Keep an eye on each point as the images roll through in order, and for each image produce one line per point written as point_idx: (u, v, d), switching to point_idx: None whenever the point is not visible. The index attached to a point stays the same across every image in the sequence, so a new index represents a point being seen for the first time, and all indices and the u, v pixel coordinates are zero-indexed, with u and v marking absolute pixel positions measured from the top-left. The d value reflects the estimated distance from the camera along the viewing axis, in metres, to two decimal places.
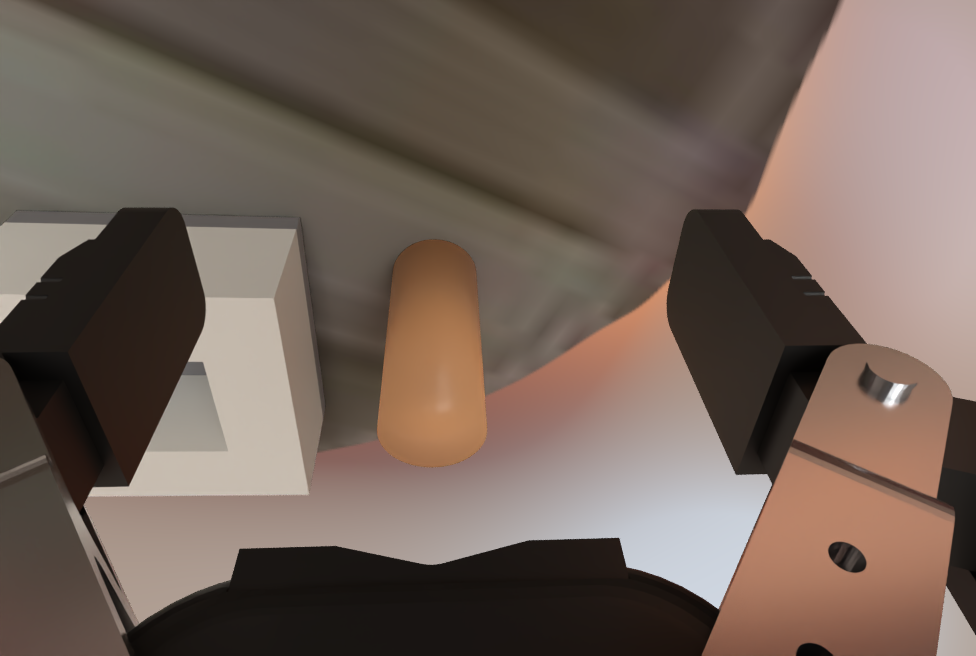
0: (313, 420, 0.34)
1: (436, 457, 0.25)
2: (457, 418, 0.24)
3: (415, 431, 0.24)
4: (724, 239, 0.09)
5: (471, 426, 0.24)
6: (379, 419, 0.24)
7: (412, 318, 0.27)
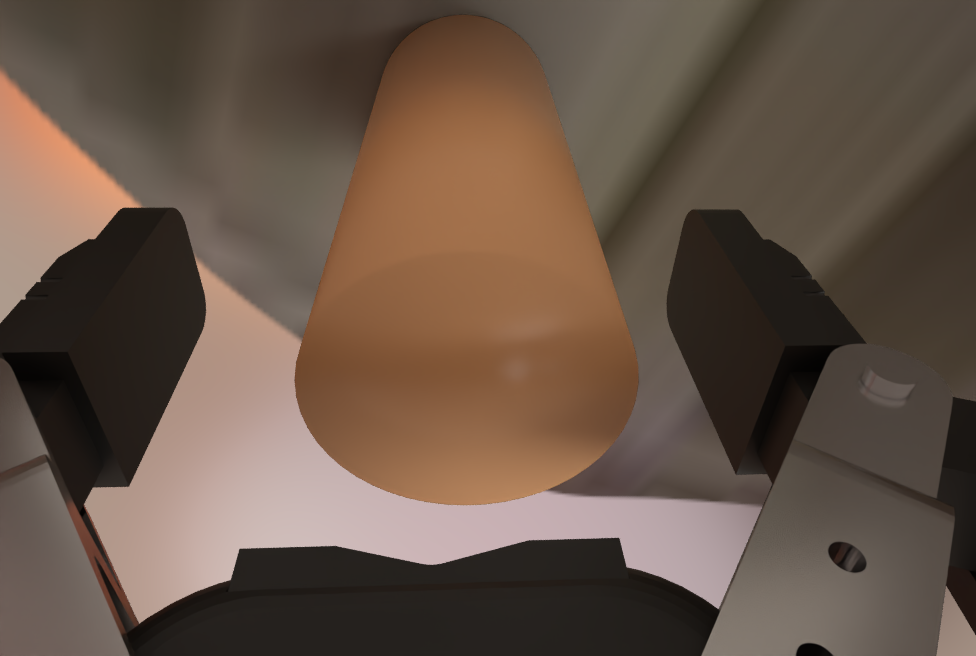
0: None
1: (347, 407, 0.08)
2: (524, 450, 0.08)
3: (473, 356, 0.07)
4: (724, 239, 0.09)
5: (489, 477, 0.09)
6: (532, 258, 0.07)
7: (577, 175, 0.11)
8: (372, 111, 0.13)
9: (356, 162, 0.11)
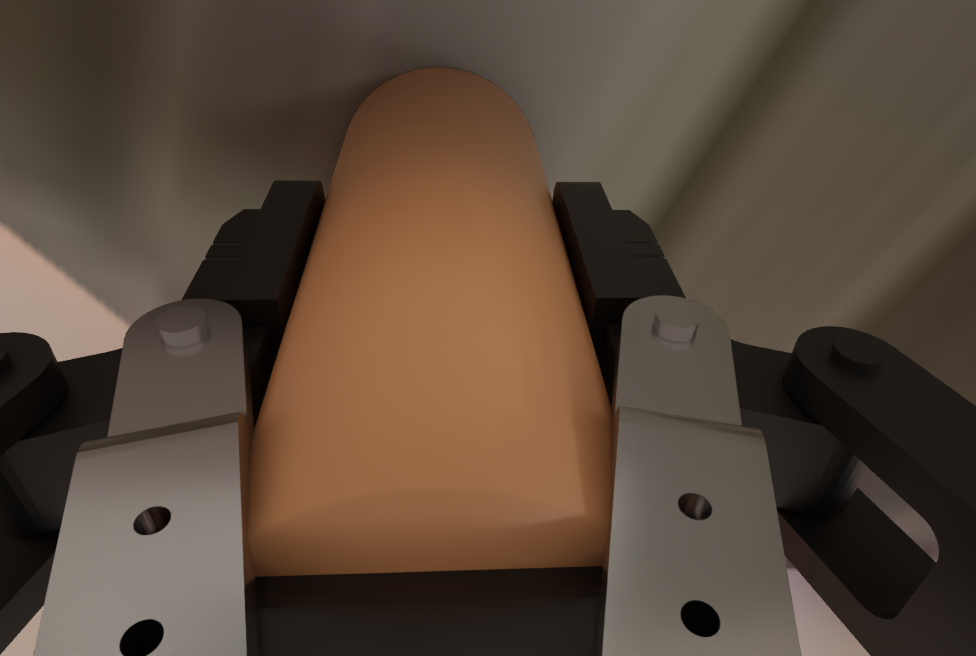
0: None
1: None
2: None
3: None
4: (575, 207, 0.10)
5: None
6: (517, 489, 0.05)
7: (574, 280, 0.09)
8: (328, 192, 0.11)
9: (304, 268, 0.09)
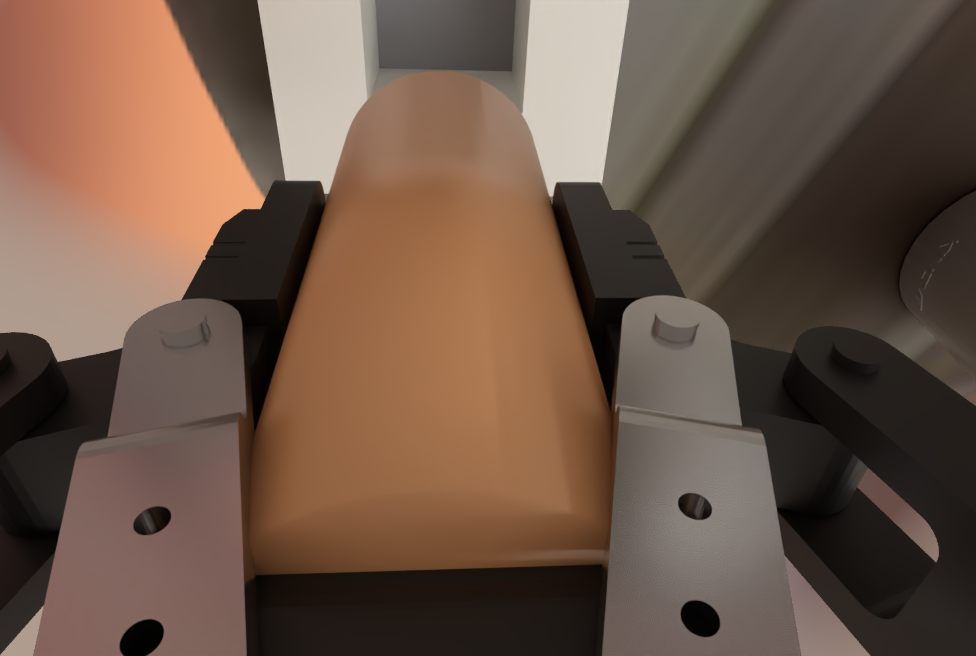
0: None
1: None
2: None
3: None
4: (575, 207, 0.10)
5: None
6: (516, 492, 0.05)
7: (572, 284, 0.09)
8: (328, 195, 0.11)
9: None
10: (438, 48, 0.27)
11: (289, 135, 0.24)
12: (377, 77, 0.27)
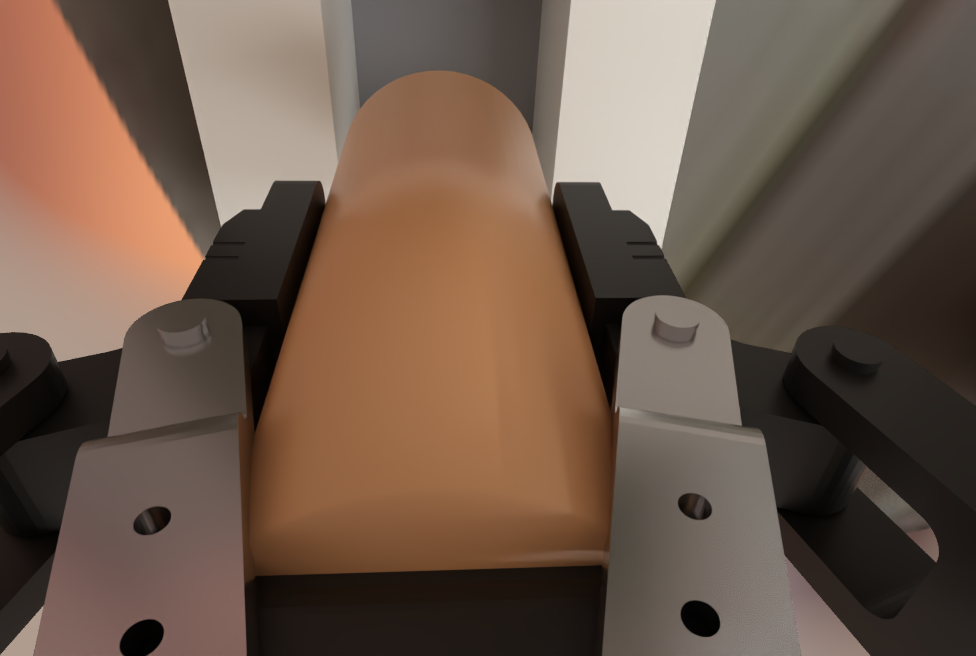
0: None
1: None
2: None
3: None
4: (575, 207, 0.10)
5: None
6: (517, 493, 0.05)
7: (572, 284, 0.09)
8: (328, 195, 0.11)
9: None
10: None
11: None
12: None
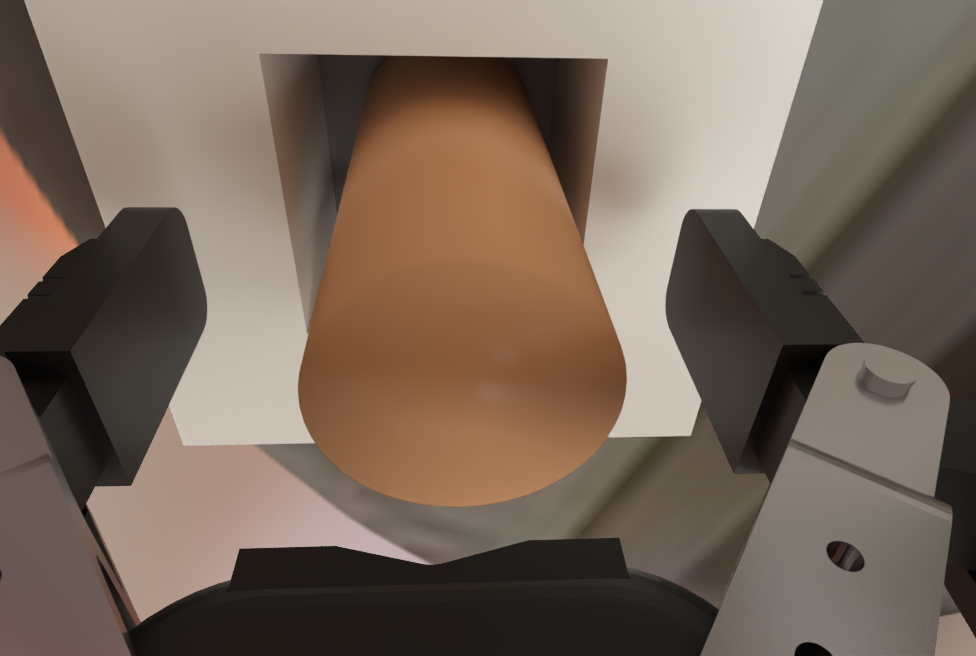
0: None
1: (349, 414, 0.08)
2: (520, 449, 0.09)
3: (469, 361, 0.08)
4: (722, 238, 0.10)
5: (487, 477, 0.09)
6: (522, 265, 0.07)
7: (560, 184, 0.11)
8: (359, 129, 0.13)
9: (346, 179, 0.11)
10: None
11: None
12: None
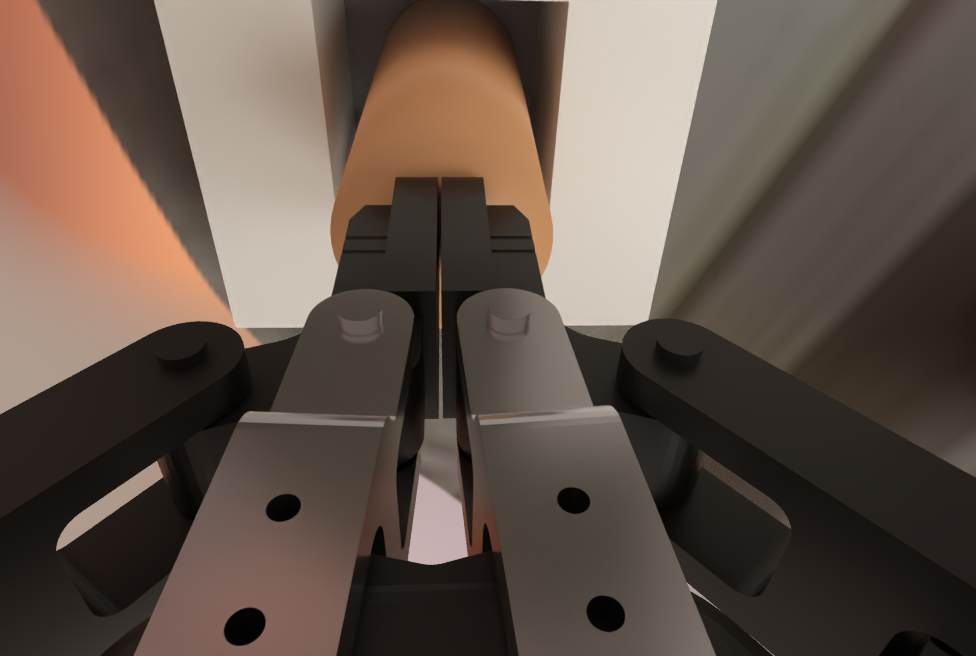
0: None
1: None
2: None
3: None
4: (450, 202, 0.10)
5: None
6: (474, 139, 0.11)
7: (524, 106, 0.15)
8: (375, 70, 0.17)
9: (365, 104, 0.15)
10: None
11: (233, 260, 0.18)
12: None
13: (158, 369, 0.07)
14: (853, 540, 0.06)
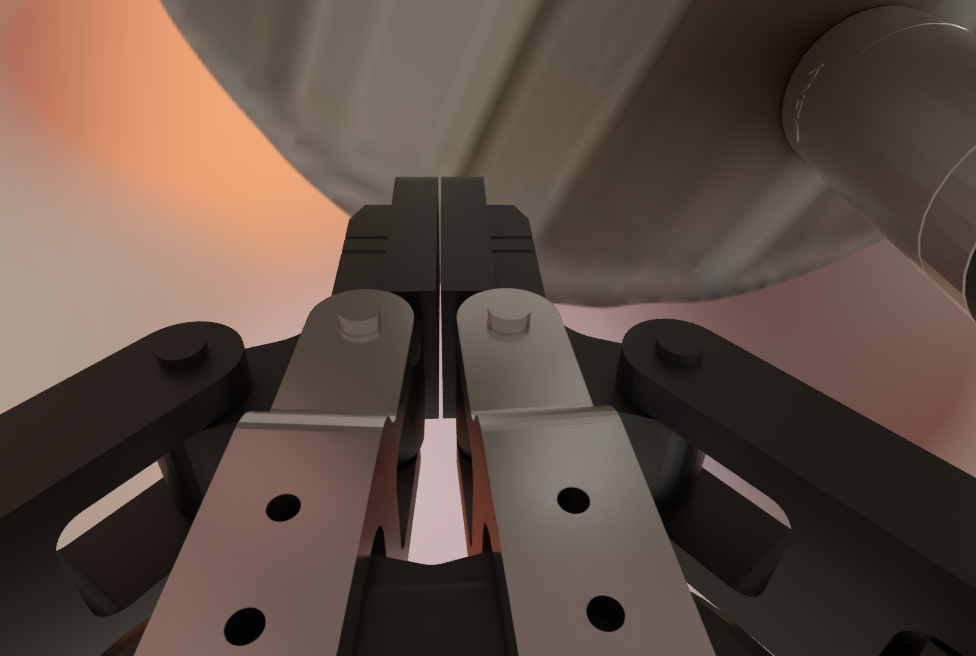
0: None
1: None
2: None
3: None
4: (450, 202, 0.10)
5: None
6: None
7: None
8: None
9: None
10: None
11: None
12: None
13: (158, 369, 0.07)
14: (853, 540, 0.06)
